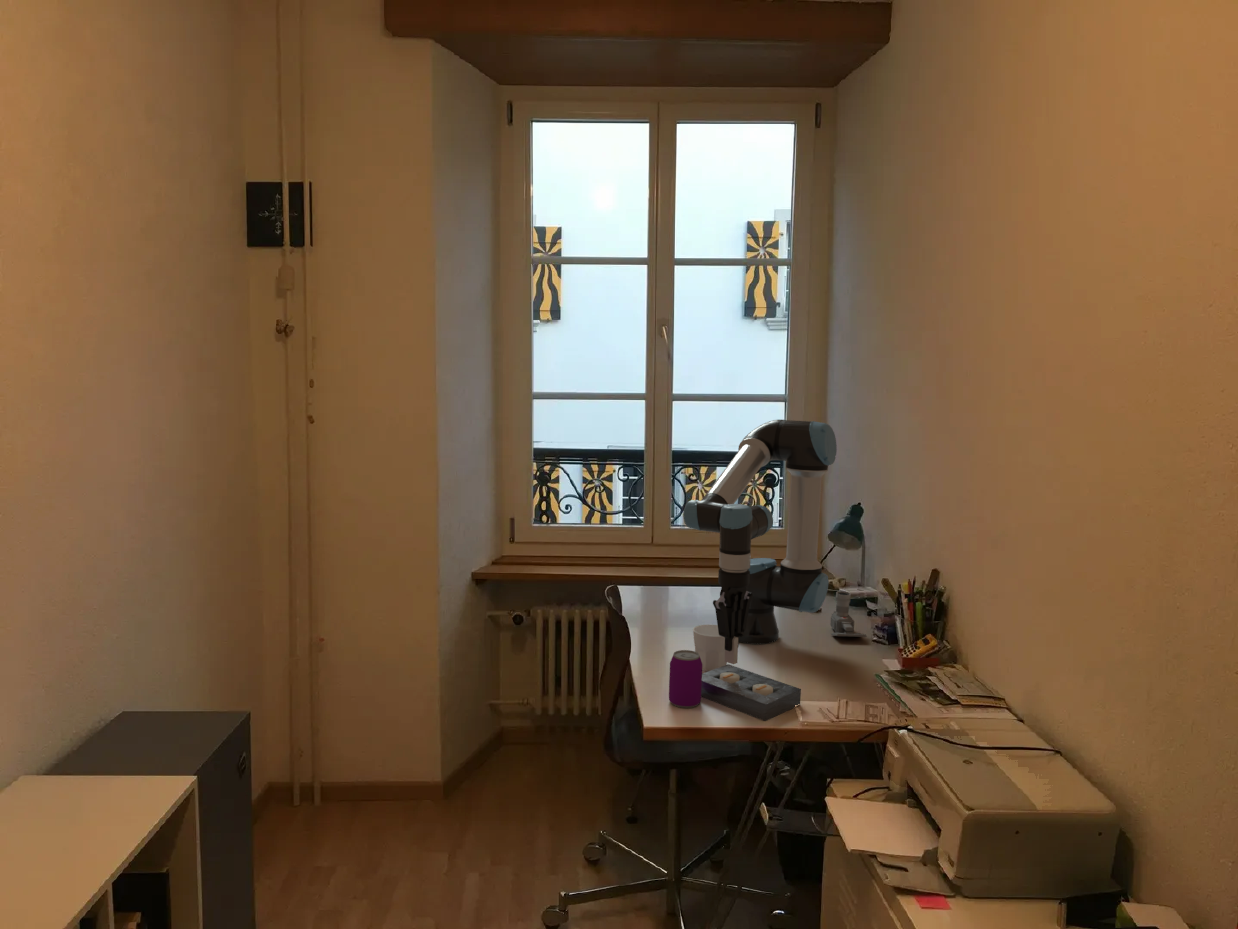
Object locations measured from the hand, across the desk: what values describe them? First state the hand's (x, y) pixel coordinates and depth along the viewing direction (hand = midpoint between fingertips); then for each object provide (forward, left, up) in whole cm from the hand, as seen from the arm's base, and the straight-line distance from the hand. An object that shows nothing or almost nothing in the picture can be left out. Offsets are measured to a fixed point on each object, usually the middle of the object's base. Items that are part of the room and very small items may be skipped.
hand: (731, 662), depth 214 cm
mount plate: (+1, +5, -8) cm, 9 cm away
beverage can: (+14, -3, -8) cm, 16 cm away
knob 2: (+1, +10, -8) cm, 13 cm away
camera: (-62, -6, -8) cm, 63 cm away
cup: (-10, -15, -8) cm, 20 cm away
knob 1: (+1, 0, -8) cm, 8 cm away
